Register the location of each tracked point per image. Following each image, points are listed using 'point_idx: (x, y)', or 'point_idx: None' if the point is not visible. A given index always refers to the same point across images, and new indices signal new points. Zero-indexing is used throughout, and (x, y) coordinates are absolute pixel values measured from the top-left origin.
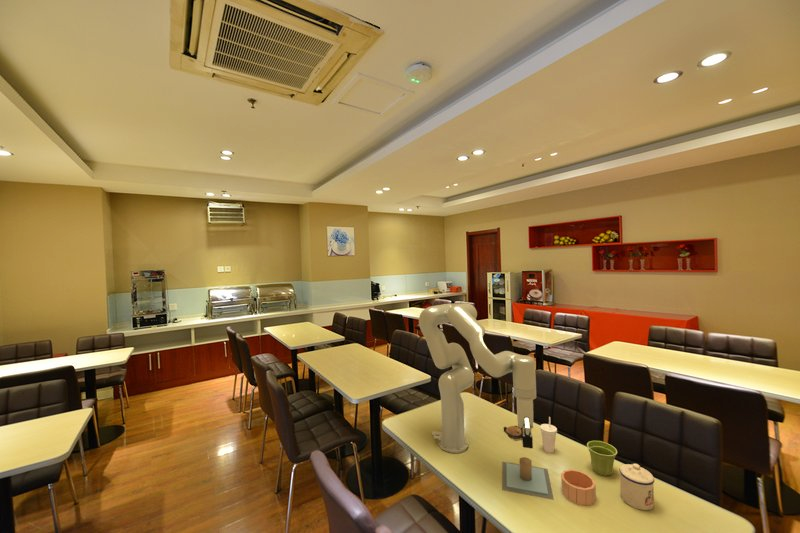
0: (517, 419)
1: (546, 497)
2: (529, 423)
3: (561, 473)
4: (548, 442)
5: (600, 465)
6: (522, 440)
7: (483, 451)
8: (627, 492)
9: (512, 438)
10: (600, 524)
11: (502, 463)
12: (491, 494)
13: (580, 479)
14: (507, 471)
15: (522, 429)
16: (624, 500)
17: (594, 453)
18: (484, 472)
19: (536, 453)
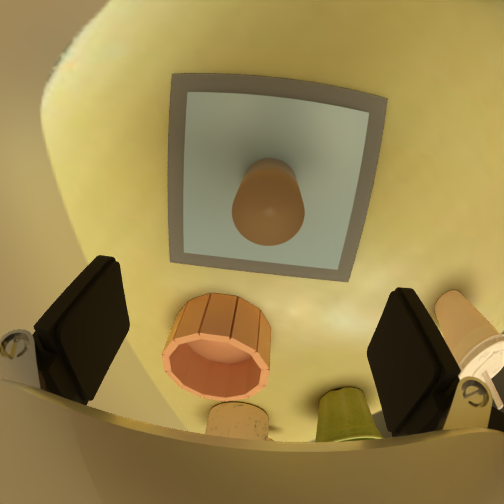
0: (318, 472)
1: (173, 241)
2: (392, 431)
3: (234, 338)
4: (451, 330)
5: (323, 417)
6: (65, 289)
7: (450, 39)
8: (216, 425)
9: None
10: (131, 338)
11: (372, 95)
12: (149, 36)
13: (257, 367)
14: (301, 104)
15: (401, 318)
16: (226, 404)
17: (331, 438)
18: (294, 5)
19: (444, 262)
